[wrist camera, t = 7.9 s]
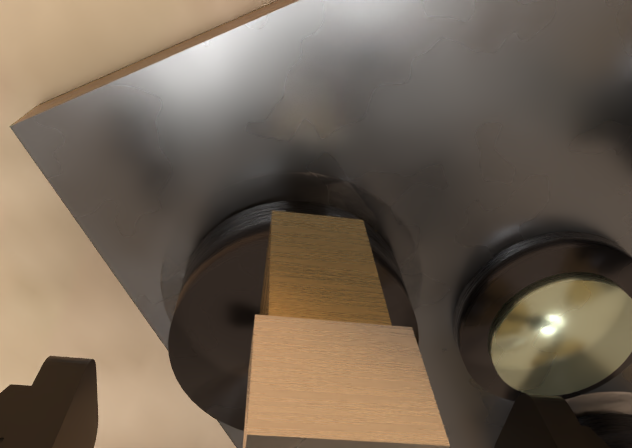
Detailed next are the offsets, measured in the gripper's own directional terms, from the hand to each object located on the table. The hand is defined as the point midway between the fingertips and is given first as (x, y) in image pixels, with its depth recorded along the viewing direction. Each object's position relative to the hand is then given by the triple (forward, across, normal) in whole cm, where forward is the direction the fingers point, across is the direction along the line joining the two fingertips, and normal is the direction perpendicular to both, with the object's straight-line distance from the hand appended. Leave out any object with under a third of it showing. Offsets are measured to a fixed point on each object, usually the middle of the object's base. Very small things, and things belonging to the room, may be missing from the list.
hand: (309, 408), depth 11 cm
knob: (+4, 0, 0) cm, 4 cm away
